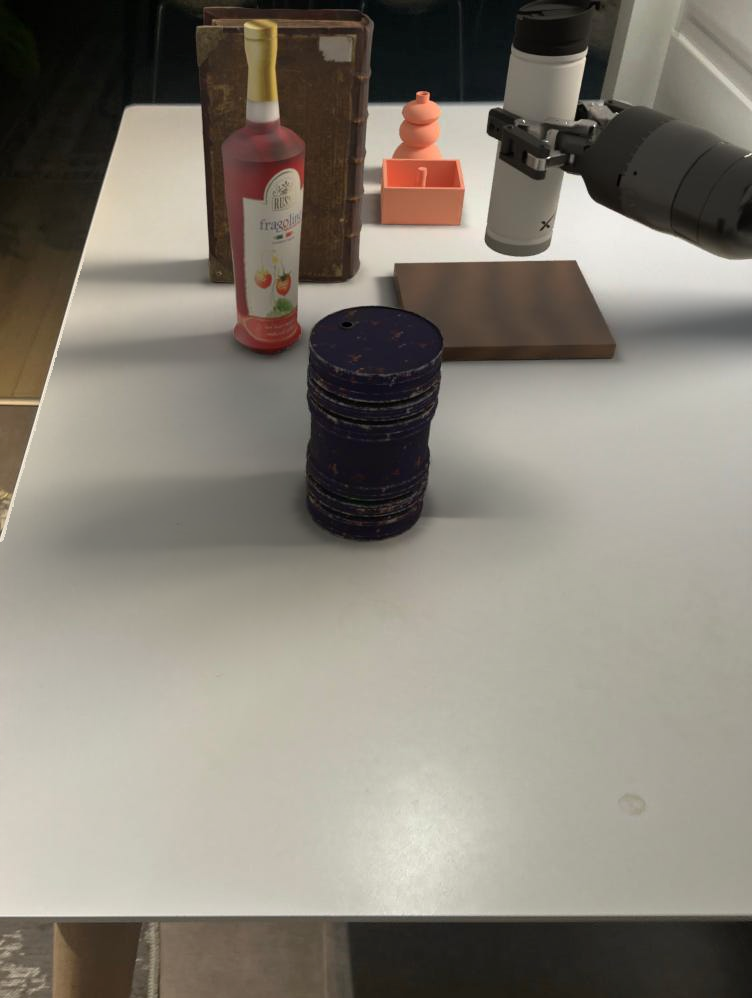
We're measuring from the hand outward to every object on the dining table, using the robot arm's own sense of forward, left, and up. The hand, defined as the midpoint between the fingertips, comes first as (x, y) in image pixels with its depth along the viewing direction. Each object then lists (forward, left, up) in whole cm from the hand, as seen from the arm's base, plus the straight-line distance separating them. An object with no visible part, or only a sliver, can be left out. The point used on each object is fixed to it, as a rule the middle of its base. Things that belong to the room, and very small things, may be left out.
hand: (520, 112), depth 85 cm
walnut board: (-1, -1, -20) cm, 20 cm away
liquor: (+23, +4, -20) cm, 31 cm away
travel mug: (-1, +2, -11) cm, 11 cm away
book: (+21, -11, -20) cm, 31 cm away
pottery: (+4, -32, -20) cm, 37 cm away
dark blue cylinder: (+15, +30, -20) cm, 39 cm away
